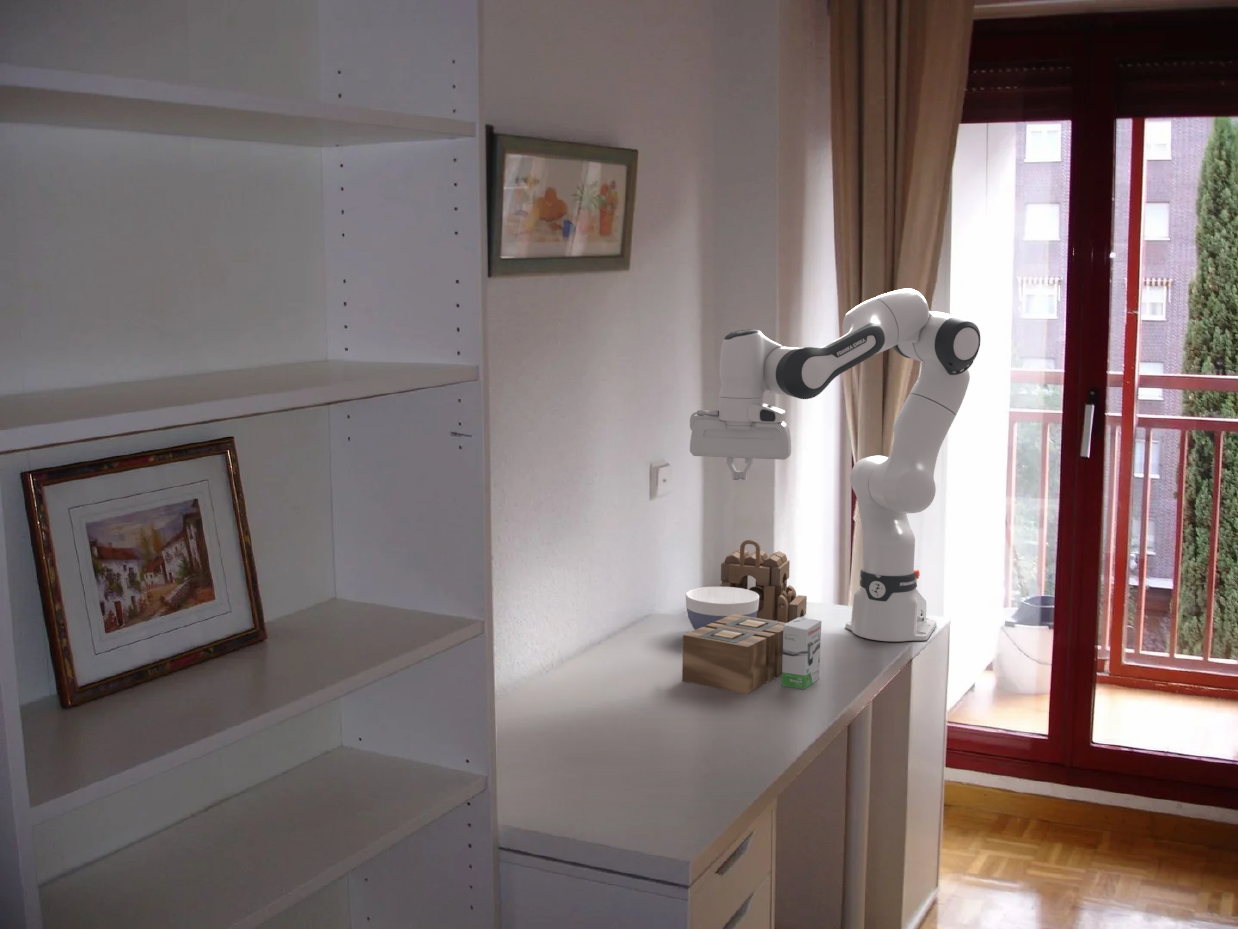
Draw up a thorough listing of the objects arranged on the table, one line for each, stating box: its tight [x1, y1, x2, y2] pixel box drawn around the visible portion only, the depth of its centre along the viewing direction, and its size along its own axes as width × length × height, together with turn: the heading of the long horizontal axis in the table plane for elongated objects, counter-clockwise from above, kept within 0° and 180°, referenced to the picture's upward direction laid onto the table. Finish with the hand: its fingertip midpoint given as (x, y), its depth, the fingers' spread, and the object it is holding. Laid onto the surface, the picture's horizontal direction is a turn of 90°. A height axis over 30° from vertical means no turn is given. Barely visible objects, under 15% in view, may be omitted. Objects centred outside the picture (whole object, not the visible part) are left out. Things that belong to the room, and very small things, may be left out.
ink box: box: [781, 616, 822, 690], centre depth 234 cm, size 9×5×12 cm, turn 151°
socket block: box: [681, 614, 786, 695], centre depth 239 cm, size 20×14×9 cm
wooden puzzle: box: [718, 539, 808, 623], centre depth 286 cm, size 22×15×19 cm, turn 69°
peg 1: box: [713, 630, 742, 640], centre depth 235 cm, size 4×4×9 cm
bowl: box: [685, 586, 759, 630], centre depth 266 cm, size 16×16×10 cm
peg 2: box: [739, 620, 766, 629], centre depth 243 cm, size 4×4×9 cm
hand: (739, 480), depth 246 cm, fingers closed
